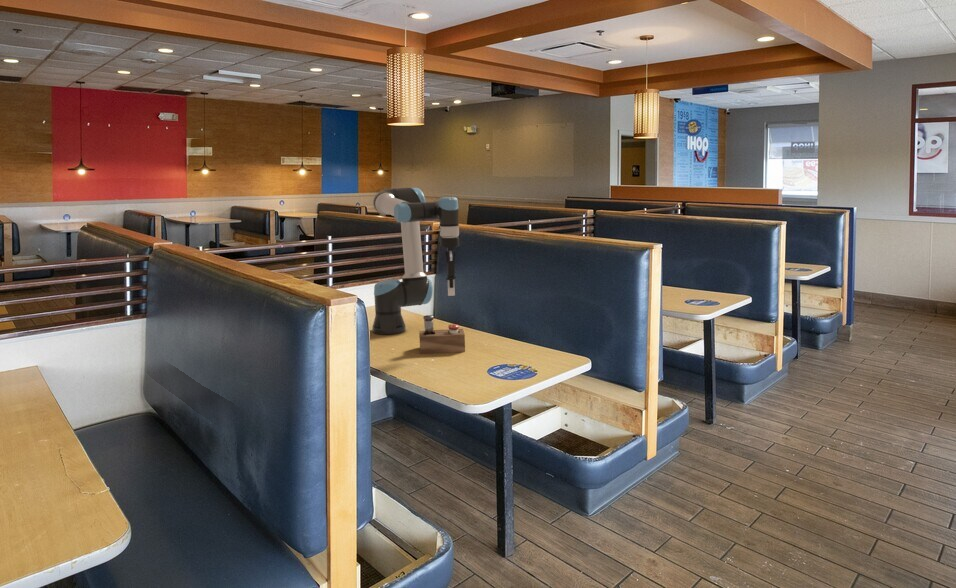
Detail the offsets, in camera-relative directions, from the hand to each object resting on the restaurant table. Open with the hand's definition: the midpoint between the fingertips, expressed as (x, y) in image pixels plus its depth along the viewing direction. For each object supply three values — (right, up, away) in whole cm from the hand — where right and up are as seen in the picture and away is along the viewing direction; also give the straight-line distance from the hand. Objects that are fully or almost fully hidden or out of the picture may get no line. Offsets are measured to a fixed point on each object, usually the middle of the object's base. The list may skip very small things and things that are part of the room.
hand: (451, 295), depth 262 cm
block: (-4, -22, +4) cm, 23 cm away
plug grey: (-9, -16, +2) cm, 18 cm away
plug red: (+1, -20, +4) cm, 20 cm away
